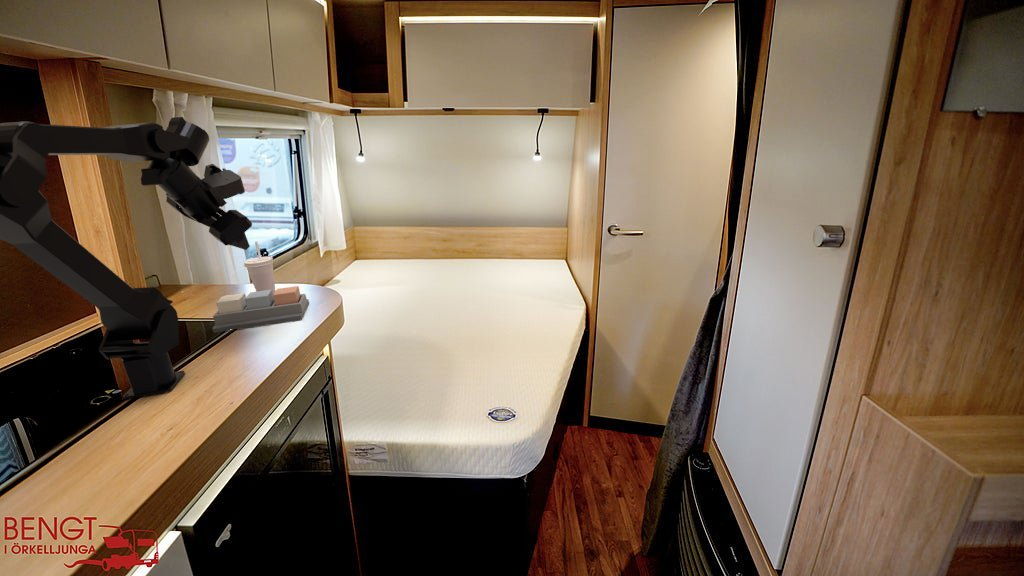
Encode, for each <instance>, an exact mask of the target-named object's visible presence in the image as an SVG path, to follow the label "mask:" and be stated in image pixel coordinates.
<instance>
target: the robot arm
mask: <svg viewBox="0 0 1024 576" xmlns="http://www.w3.org/2000/svg"><path fill="white" fill-rule="evenodd" d="M167 125H168V126H167V128H166V130H165V129H164V128H163V125H161V124H160V123H157V122H142V123H130V124H129V123H127V124H117V125H110V126H103V127H99V126H98V127H97V126H96V127H95V126H94V127H93V126H80V125H63V124H60V125H59V124H45V123H35V122H32V121H27V120H26V121H16V122H15V121H13V122H12V121H11V122H1V123H0V241H4V242H5V243H8V244H10V245H12V246H13V247H14V248H16V249H17V250H18V251H20V252H21V253H23V254H24V255H25V256H27V257H28V258H29V259H31V260H32V261H33V262H35V263H36V264H37V265H39V266H40V267H42V268H43V269H44V270H46V271H47V272H48V273H49V274H51V275H52V276H54V277H55V278H56V279H58V280H59V281H60V282H62V283H63V284H65V285H66V286H67V287H69V288H70V289H71V290H72V291H74V292H75V293H77V294H78V295H79V296H81V297H82V298H84V299H85V300H86V301H88V302H89V303H91V305H93V306H94V307H95V308H96V309H98V312H99V317H100V322H101V324H102V325H103V326H104V328H106V330H105V333H104V335H103V338H102V340H101V343H100V344H99V347H98V352H99V353H100V354H101V355H102V356H103V358H104V359H105V360H111V359H121V364H122V366H123V369H124V371H125V374H126V376H127V380H128V382H129V384H130V388H129V389H128V390H127V391H126V392H125V393H124V394H123V395H122V397H123V400H128V398H129V399H133V398H139V397H145V396H151V395H152V396H153V395H158V394H164V393H168V392H171V391H172V390H173V389H174V387H175V386H176V385H177V384H178V383H179V381H180V380H181V379H182V378H183V377H184V375H185V374H186V372H185V370H178V371H174V367H173V364H172V362H171V357H170V356H169V355H170V354H169V351H170V350H172V349H174V348H175V347H177V346H179V344H180V336H179V335H180V334H179V333H180V332H179V331H180V329H179V315H178V312H177V309H176V308H174V306H173V305H172V304H173V303H174V302H173V300H171V299H168V298H167V297H166V296H164V295H163V293H162V292H161V291H160V290H159V289H158V288H157V287H154V286H146V287H145V286H144V287H131V286H130V284H128V283H127V282H126V281H124V280H123V279H122V278H121V277H120V276H119V275H117V274H116V273H115V272H114V271H113V270H111V269H110V268H109V267H108V266H107V265H106V264H104V263H103V262H102V261H101V260H99V258H97V257H96V256H95V255H94V254H92V252H90V250H88V249H87V248H86V247H84V246H83V245H82V244H81V243H80V242H78V241H77V240H76V239H75V238H74V237H73V236H71V235H70V234H69V233H68V232H67V231H66V230H64V229H63V228H62V227H61V226H60V225H58V224H57V223H56V222H55V221H54V220H53V219H52V214H51V210H50V205H49V202H48V199H47V198H46V197H45V196H44V195H43V193H42V192H41V191H40V188H41V187H42V185H43V183H44V182H45V180H46V178H47V176H48V173H47V171H48V170H47V164H46V162H47V161H46V159H47V157H48V156H83V155H84V156H87V155H88V156H89V155H91V156H103V157H107V158H109V159H111V160H116V161H122V162H126V163H134V162H135V163H136V162H137V163H138V162H148V164H147V166H146V167H145V168H141V170H140V171H141V172H140V173H141V177H140V184H141V185H142V186H143V187H147V186H149V187H150V186H158V187H160V188H161V189H162V191H164V193H165V195H166V199H165V200H166V201H165V202H166V203H167V204H169V205H170V207H172V208H173V209H174V210H176V212H178V213H180V214H181V215H183V216H184V217H185V218H188V219H190V220H192V221H195V222H196V223H199V224H201V225H204V226H205V227H209V229H208V233H209V234H210V235H212V236H213V237H214V238H215V239H216V240H218V241H219V242H220V243H222V244H223V245H224V246H231V247H235V248H238V249H241V250H244V251H245V250H248V249H249V248H251V245H250V244H249V243H250V242H249V240H248V238H247V235H246V232H247V231H248V230H249V229H250V228H252V227H253V226H252V225H253V223H252V221H251V220H250V218H248V216H246V215H244V214H243V213H241V212H239V211H238V210H237V209H228V210H227V211H225V210H223V209H222V207H224V206H226V205H227V203H228V202H227V201H226V199H230V198H232V197H235V196H238V195H242V194H244V193H245V192H246V191H245V190H246V189H245V187H244V183H243V180H242V177H241V176H240V175H239V174H238V173H236V172H234V171H233V170H231V169H226V168H225V167H223V168H222V169H221V168H220V167H219V166H217V165H215V164H214V163H210V164H207V165H205V168H204V174H203V176H204V178H202V179H201V177H199V176H198V175H197V174H196V172H194V171H193V169H192V168H191V167H194V166H197V165H198V164H199V163H200V161H201V159H202V157H203V155H204V153H205V150H206V149H207V146H208V144H209V143H210V136H209V133H208V132H207V131H206V130H205V129H203V128H201V127H200V126H198V125H197V124H194V123H192V122H189V121H186V120H185V118H184V117H183V116H177V117H176V116H175V117H171V118H170V120H169V121H168V124H167ZM220 207H221V208H220ZM136 340H137V341H138V342H137V341H136ZM140 340H149V341H141V342H139V341H140ZM134 341H135V342H134Z"/></svg>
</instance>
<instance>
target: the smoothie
mask: <svg viewBox="0 0 1024 576" xmlns="http://www.w3.org/2000/svg"><path fill="white" fill-rule="evenodd" d="M254 243H255V248H256V252H257V256H258V257H253V258H249V259H247V260H245V261H243V264H244V265H243V266H244V267H245V268H246V270H247V273H248V275H249V277H250V279H251V282H252V285H253V286H254V289H255V292H257V291H265V290H272V292H273V294H274V293H275V291H276V285H275V284H276V283H275V274H274V257H272V256H262V255H261V251H260V245H259V243H258V241H254Z"/></svg>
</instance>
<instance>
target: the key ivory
mask: <svg viewBox="0 0 1024 576" xmlns="http://www.w3.org/2000/svg"><path fill="white" fill-rule="evenodd" d="M246 297H247V295H246V292H243V293H236V294H228V295H222V296H221V297H220V298H219V299H218V300H217V301H216V307H217V311H219V314H222V313H229V312H236V311H242V310H243V309H244V308H245V307H246V301H245V298H246Z"/></svg>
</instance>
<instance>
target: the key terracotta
mask: <svg viewBox="0 0 1024 576" xmlns="http://www.w3.org/2000/svg"><path fill="white" fill-rule="evenodd" d="M300 294H301V291H300V286H299V285H297V286H296V285H295V286H290V287H289V286H288V287H282V288H276V289H275V293H274V294H273V297H274V301H275V305H276V306H278V305H285V304H292V303H298V301H299V299H300V297H301V295H300Z"/></svg>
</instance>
